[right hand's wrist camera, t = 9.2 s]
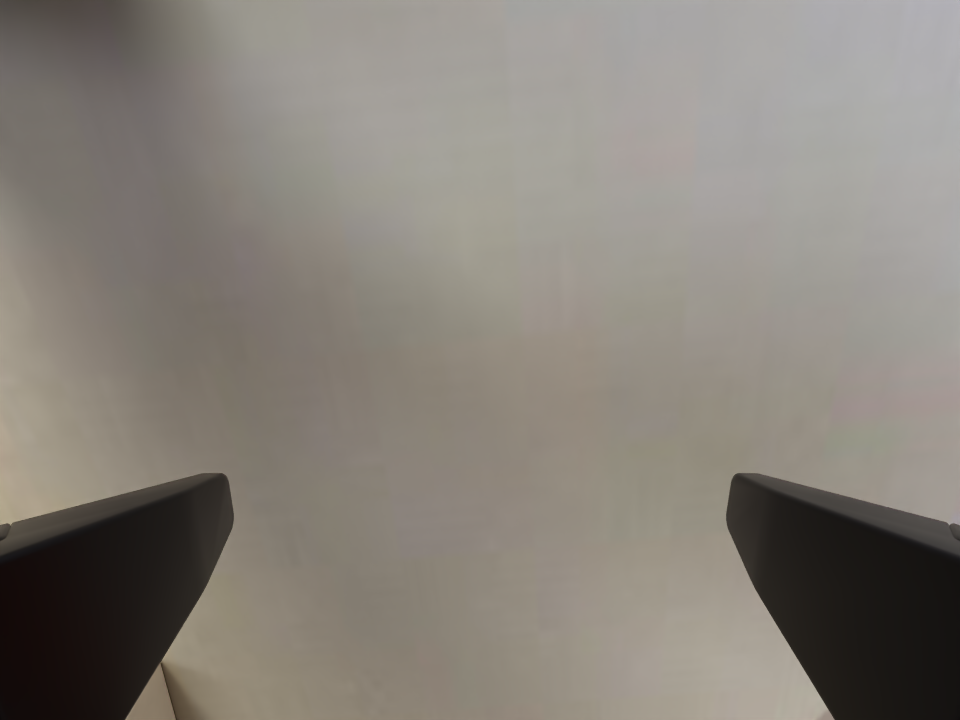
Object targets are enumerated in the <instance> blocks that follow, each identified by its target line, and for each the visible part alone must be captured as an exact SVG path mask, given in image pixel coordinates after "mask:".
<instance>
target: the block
mask: <svg viewBox="0 0 960 720" xmlns="http://www.w3.org/2000/svg"><path fill="white" fill-rule="evenodd" d="M125 720H176V718H175V714H174V711H173V707H172V704H171V700H170V696H169V693H168V689H167V686H166V682H165V678H164V675H163V671H162V668H161V664H159V665H158V667H157V669H156V670H155V672H154V674H153V675H152V677H151V678H150V680H149V682H148V683H147V685H146V687H145V688H144V690H143V692H142V693H141V695H140V696H139V698H138V700H137V701H136V703H135V705H134V706H133V708H132V710H131V711H130V713H129V715H128V716H127V718H126V719H125Z"/></svg>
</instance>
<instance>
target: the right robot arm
mask: <svg viewBox="0 0 960 720" xmlns="http://www.w3.org/2000/svg"><path fill="white" fill-rule="evenodd" d="M233 521H234V513H233V506H232V499H231V493H230V487H229V481H228V478H227V476H226V475H225V474H222V473H203V474H198V475H195V476H191V477H187V478H183V479H179V480H175V481H171V482H168V483H164V484H160V485H156V486H152V487H148V488H145V489H141V490H137V491H133V492H129V493H125V494H121V495H118V496H114V497H110V498H106V499H102V500H98V501H95V502H91V503H87V504H83V505H79V506H75V507H71V508H68V509H64V510H60V511H56V512H52V513H48V514H45V515H41V516H37V517H33V518H29V519H25V520H21V521H18V522H14V523H12V525H11V526H10V524H3V525H0V720H125V719H126V718H127V716H128V715H129V713H130V711H131V710H132V708H133V706H134V705H135V703H136V701H137V700H138V698H139V696H140V695H141V693H142V692H143V690H144V688H145V687H146V685H147V683H148V682H149V680H150V678H151V677H152V675H153V674H154V672H155V670H156V669H157V667H158V665H159V664H160V662H161V660H162V659H163V657H164V655H165V654H166V652H167V651H168V649H169V647H170V646H171V644H172V642H173V641H174V639H175V637H176V636H177V634H178V633H179V631H180V629H181V628H182V626H183V624H184V623H185V621H186V619H187V618H188V616H189V614H190V613H191V611H192V610H193V608H194V606H195V605H196V603H197V601H198V600H199V598H200V596H201V594H202V593H203V591H204V589H205V587H206V585H207V583H208V581H209V579H210V577H211V575H212V572H213V570H214V568H215V566H216V563H217V561H218V559H219V557H220V554H221V552H222V550H223V548H224V546H225V543H226V541H227V539H228V537H229V534H230V532H231V530H232V526H233ZM726 521H727V526H728V530H729V532H730V534H731V536H732V539H733V541H734V543H735V545H736V548H737V550H738V552H739V554H740V557H741V559H742V561H743V563H744V566H745V568H746V570H747V572H748V575H749V577H750V579H751V581H752V583H753V585H754V587H755V589H756V591H757V593H758V594H759V596H760V598H761V600H762V601H763V603H764V605H765V606H766V608H767V609H768V611H769V613H770V614H771V616H772V618H773V619H774V621H775V623H776V624H777V626H778V628H779V629H780V631H781V632H782V634H783V636H784V637H785V639H786V641H787V642H788V644H789V646H790V647H791V649H792V651H793V652H794V654H795V655H796V657H797V659H798V660H799V662H800V664H801V665H802V667H803V669H804V670H805V672H806V673H807V675H808V677H809V678H810V680H811V682H812V683H813V685H814V687H815V688H816V690H817V692H818V693H819V695H820V696H821V698H822V700H823V701H824V703H825V705H826V706H827V708H828V710H829V711H830V713H831V714H832V716H833V718H834V719H835V720H960V525H957V524H950V526H949V524H948V523H946V522H942V521H939V520H935V519H931V518H927V517H923V516H919V515H916V514H912V513H908V512H904V511H900V510H896V509H892V508H889V507H885V506H881V505H877V504H873V503H869V502H866V501H862V500H858V499H854V498H850V497H846V496H842V495H839V494H835V493H831V492H827V491H823V490H819V489H816V488H812V487H808V486H804V485H800V484H796V483H792V482H789V481H785V480H781V479H777V478H773V477H769V476H766V475H762V474H757V473H738V474H735V475H734V476H733V478H732V481H731V487H730V493H729V500H728V506H727V513H726Z"/></svg>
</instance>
